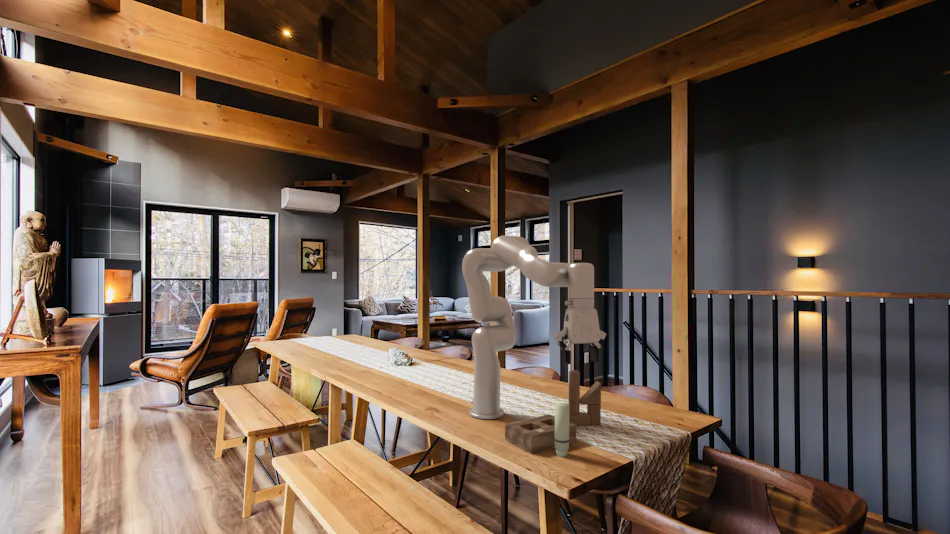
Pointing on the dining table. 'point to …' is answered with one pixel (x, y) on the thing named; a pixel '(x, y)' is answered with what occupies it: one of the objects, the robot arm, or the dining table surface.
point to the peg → (561, 429)
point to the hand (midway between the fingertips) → (580, 362)
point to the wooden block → (584, 402)
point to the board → (535, 433)
